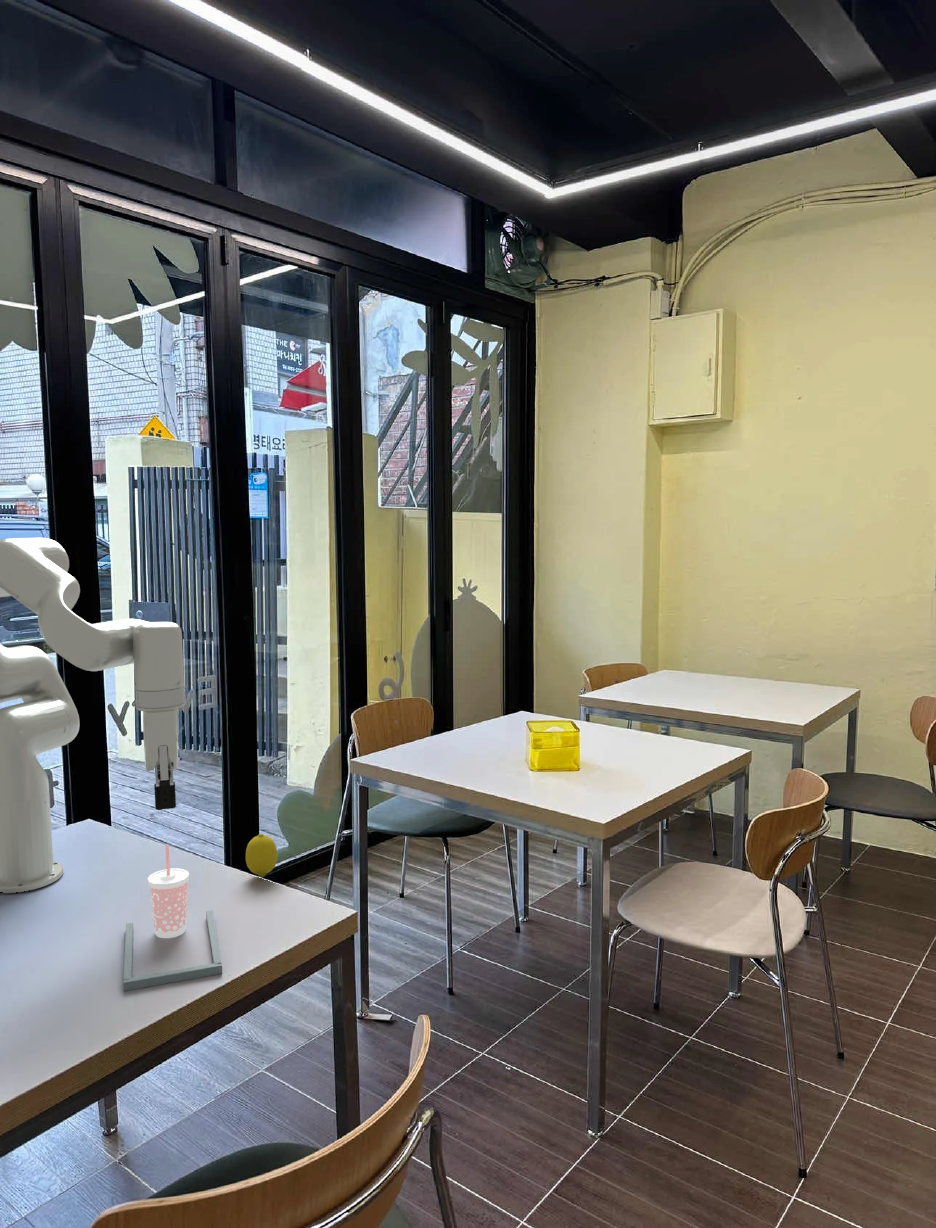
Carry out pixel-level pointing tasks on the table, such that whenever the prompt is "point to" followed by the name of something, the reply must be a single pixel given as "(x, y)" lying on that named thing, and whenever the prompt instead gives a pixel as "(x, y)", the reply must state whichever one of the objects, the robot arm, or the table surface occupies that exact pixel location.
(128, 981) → the slate channel
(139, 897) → the table surface
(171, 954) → the table surface
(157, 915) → the beverage cup
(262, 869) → the lemon
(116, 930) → the table surface
